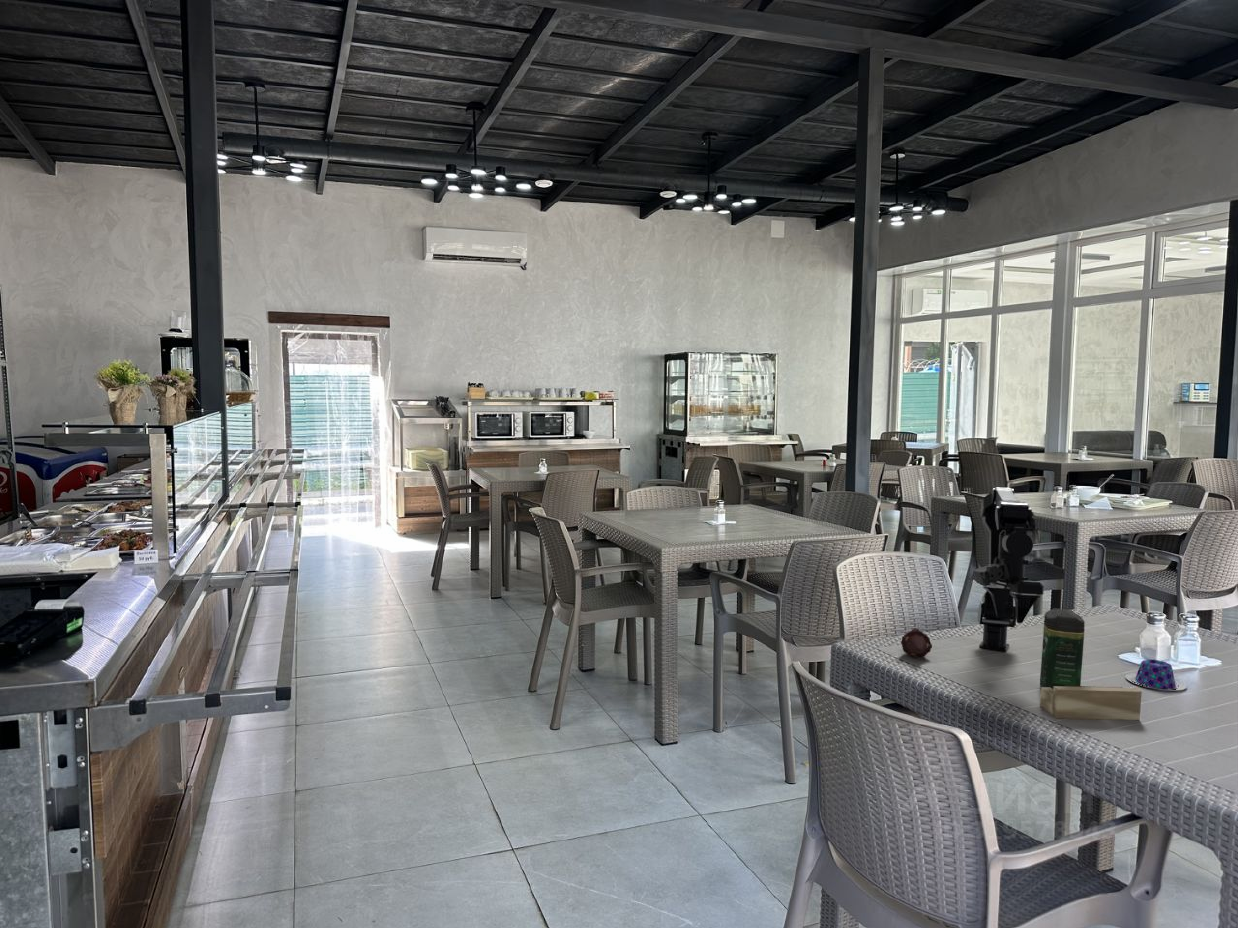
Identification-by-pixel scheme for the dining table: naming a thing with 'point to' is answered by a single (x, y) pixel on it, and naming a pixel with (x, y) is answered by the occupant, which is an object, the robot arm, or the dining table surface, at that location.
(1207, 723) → the dining table surface
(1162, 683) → the purple patterned hat
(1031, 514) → the robot arm
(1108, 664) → the dining table surface
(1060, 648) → the coffee jar
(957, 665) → the dining table surface
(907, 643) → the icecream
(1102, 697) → the block
